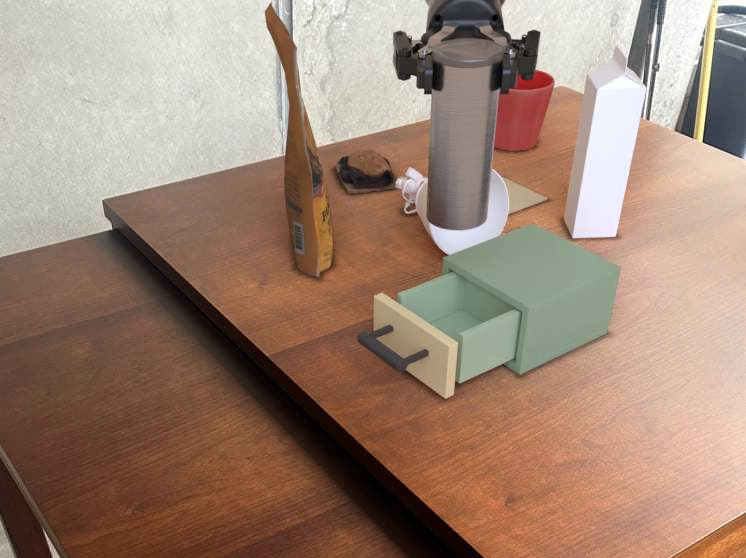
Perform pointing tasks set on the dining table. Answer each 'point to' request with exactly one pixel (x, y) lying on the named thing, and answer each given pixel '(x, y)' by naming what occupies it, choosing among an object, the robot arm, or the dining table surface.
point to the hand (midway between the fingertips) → (467, 82)
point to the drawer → (443, 331)
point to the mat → (521, 196)
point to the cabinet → (543, 289)
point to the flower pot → (523, 112)
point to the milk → (604, 148)
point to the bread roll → (365, 172)
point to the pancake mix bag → (302, 167)
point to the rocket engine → (458, 238)
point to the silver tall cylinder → (462, 131)
